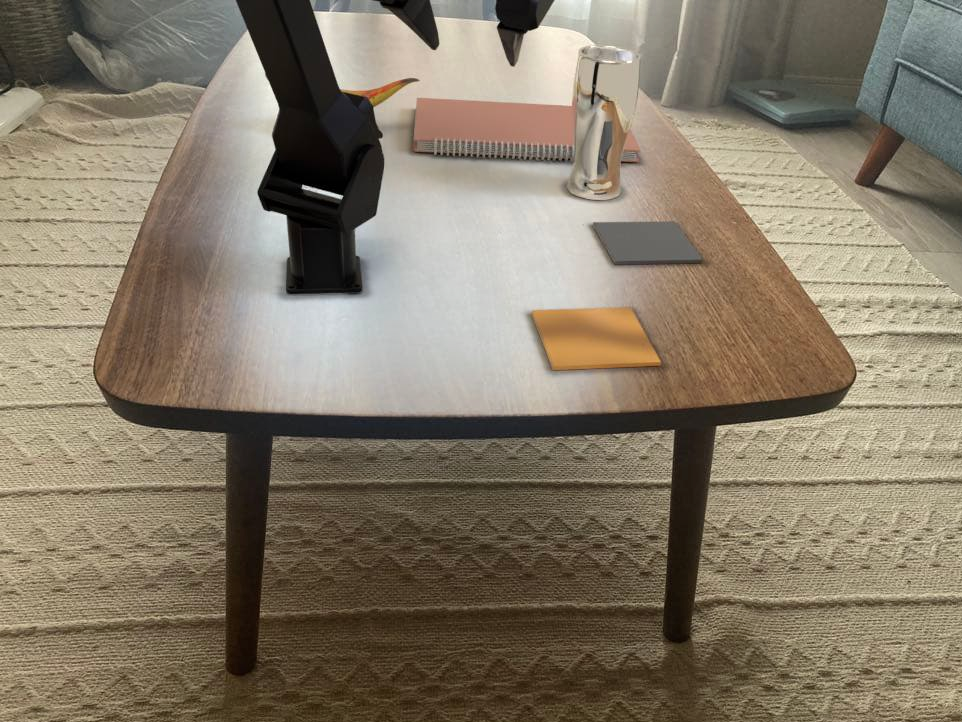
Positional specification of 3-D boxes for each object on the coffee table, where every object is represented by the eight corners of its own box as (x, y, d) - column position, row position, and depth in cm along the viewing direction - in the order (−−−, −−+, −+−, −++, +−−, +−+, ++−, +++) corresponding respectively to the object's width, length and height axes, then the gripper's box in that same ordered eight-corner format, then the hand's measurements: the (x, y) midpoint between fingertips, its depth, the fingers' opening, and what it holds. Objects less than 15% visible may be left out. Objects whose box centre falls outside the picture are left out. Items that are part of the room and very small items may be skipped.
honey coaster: (660, 365, 76) (661, 361, 75) (552, 370, 74) (553, 366, 74) (630, 311, 83) (630, 307, 83) (531, 314, 81) (531, 310, 81)
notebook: (413, 156, 110) (413, 139, 108) (416, 110, 123) (416, 95, 122) (639, 167, 113) (642, 151, 111) (618, 121, 126) (620, 106, 125)
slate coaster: (702, 263, 92) (702, 259, 92) (614, 264, 90) (615, 261, 90) (674, 224, 99) (674, 221, 99) (592, 225, 97) (592, 222, 97)
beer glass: (573, 203, 102) (588, 62, 93) (555, 178, 107) (568, 43, 99) (633, 201, 104) (653, 62, 95) (612, 177, 109) (629, 44, 100)
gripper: (573, -126, 84) (586, 20, 98) (394, -150, 90) (430, -9, 103) (523, -49, 80) (544, 93, 93) (338, -80, 85) (384, 58, 99)
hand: (474, 55), depth 97 cm, fingers open, 9 cm apart
